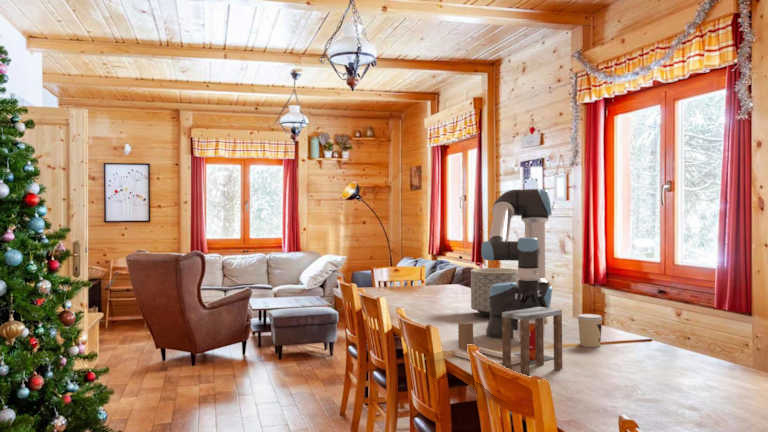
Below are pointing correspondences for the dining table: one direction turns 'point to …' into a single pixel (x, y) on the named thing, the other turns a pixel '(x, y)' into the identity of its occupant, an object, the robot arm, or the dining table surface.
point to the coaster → (535, 360)
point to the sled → (467, 338)
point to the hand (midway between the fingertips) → (529, 336)
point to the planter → (488, 285)
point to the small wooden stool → (524, 318)
